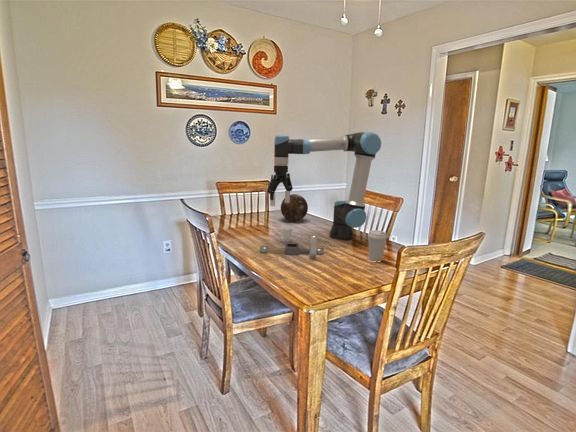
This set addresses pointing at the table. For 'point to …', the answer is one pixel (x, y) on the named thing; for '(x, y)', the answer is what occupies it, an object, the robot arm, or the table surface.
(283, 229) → the cup
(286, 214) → the decorative sphere
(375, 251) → the coffee cup
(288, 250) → the grey knobbed bar
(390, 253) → the table surface
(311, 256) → the link pin
